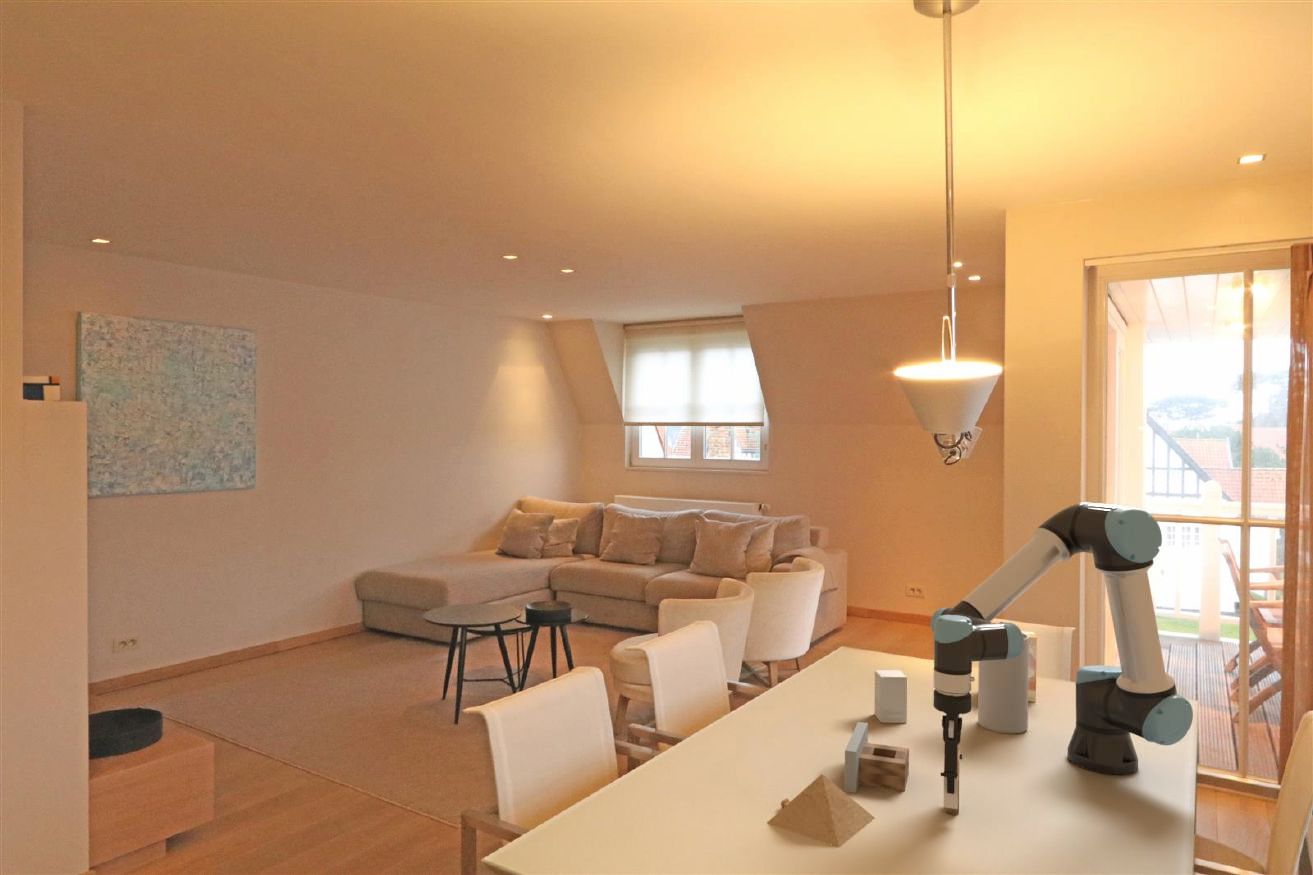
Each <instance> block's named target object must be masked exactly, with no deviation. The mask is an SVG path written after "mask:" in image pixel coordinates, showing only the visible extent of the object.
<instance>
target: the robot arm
mask: <svg viewBox="0 0 1313 875" xmlns="http://www.w3.org/2000/svg"><path fill="white" fill-rule="evenodd" d="M1162 541H1163V536H1162V530H1161V527H1160V525H1159V522H1157V520H1156V519H1155V518H1154V516H1153V515H1152V514H1150V513H1149V512H1147V511H1146V510H1144V509H1142V508H1139V507H1133V506H1130V505H1124V504H1123V505H1118V504H1111V503H1110V504H1108V503H1099V502H1098V503H1097V502H1091V501H1084V502H1078V503H1075V504H1072V505H1070V506H1067V507H1066V508H1063V509H1061V510H1060V511H1058V512H1056V513H1055V514H1054V515H1052V516H1051V517H1049V518H1048V519H1047V520H1045V521H1044V522H1043V523H1042V524H1040V525H1039V526H1038V527H1037V528H1035V530H1034V531H1033V537H1032V538H1031V539H1030V540H1029V541H1028V542H1026V543H1025V544H1024V545H1023V546H1022V547H1021V548H1020V549H1019V550H1018V551H1016V552H1015V553H1014V554H1013V555H1012V556H1010V557H1009V559H1008V560H1006V561H1005V562H1004V563H1003V564H1002V565H1000V566H999V567H998V568H997V569H996V570H995V571H994V572H992V573H991V574H990V575H989V576H988V577H987V578H986V579H985V580H983V581H982V582H981V583H980V584H979V585H978V586H976V587H975V588H974V589H973V590H972V591H970V592H969V593H968V594H967V595H966V596H965V597H963V599H962V600H960V602H958V603H957V604H956V605H955V606H953V607H941V608H939V609H937V610H936V611H934V612H933V614H932V616H931V618H930V628H931V629H930V630H931V631H932V634H933V637H932V638H933V678H932V679H933V685H932V686H933V688H934V690H933V707H934V708H935V709H936V711H939V712H942V713H944V715H942V719H941V727H942V740H943V742H944V746H945V753H943V754H944V755H943V756H944V757H943V758H944V759H943V760H944V761H943V762H944V763H943V772H940V777H943V808H944V807H946V808H953V809H958V774H957V755H958V745H959V746H960V743H961V735H962V729H963V717H962V716H961V717H960V715H966V714H969V713H970V712H971V711H972V693H971V692H972V682H973V683H974V682H975V680H976V679H975V677H974V676H972V673H973V672H972V671H973V662H979V661H986V660H1002V659H1003V660H1006V659H1010V658H1016V657H1018V656H1019V655H1020V654H1021V653H1022V651H1023V649H1024V638H1023V634H1022V632H1021V631H1022V630H1021V628H1020V627H1019V626H1018V625H1016V624H1015V623H1013V622H1003V621H1000V622H992V621H993V620H994V619H996V618H997V617H998V616H999V615H1000V614H1002V612H1003V611H1005V610H1006V609H1007V608H1008V607H1009V606H1010V605H1011V604H1012V603H1014V602H1015V601H1016V600H1017V599H1018V598H1019V597H1021V595H1023V594H1024V593H1025V592H1026V591H1027V590H1028V589H1030V588H1031V587H1032V586H1033V585H1034V584H1035V583H1036V582H1037V581H1039V580H1040V578H1041V577H1043V576H1044V575H1046V573H1048V572H1049V570H1051V569H1052V568H1053V567H1055V565H1057V564H1058V562H1067V561H1068V560H1069V559H1070V558H1072V557H1073V556H1075V555H1077V554H1080V553H1088V554H1092V557H1093V563H1094V567H1095V570H1097V571H1098V572H1100V573H1101V574H1103V575H1104V581H1105V587H1106V588H1105V589H1106V594H1107V597H1108V603H1109V610H1110V616H1111V619H1112V626H1113V632H1114V637H1115V641H1116V648H1117V652H1118V658H1119V664H1120V666H1118V665H1117V666H1115V665H1102V664H1101V665H1085V666H1081V667H1080V668H1078V670H1077V671H1076V681H1075V728H1074V730H1073V733H1072V735H1071V739H1070V741H1069V743H1068V746H1067V759H1068V760H1069V761H1070V762H1071V763H1072V764H1074V765H1076V766H1078V767H1080V768H1083V769H1085V770H1088V771H1092V772H1097V773H1101V774H1107V775H1128V774H1133V773H1136V772H1138V769H1139V758H1138V754H1137V751H1136V749H1135V746H1134V743H1133V739H1132V736H1131V734H1133V735H1135V736H1138V737H1140V738H1142V739H1144V740H1146V742H1150V743H1155V744H1158V745H1160V746H1172V745H1174V744H1177V743H1179V742H1181V740H1182V739H1184V738H1185V736H1186V735H1187V733H1188V731H1189V730H1190V729H1191V726H1192V724H1193V718H1194V710H1193V707H1192V704H1191V703H1190V701H1189V700H1188V699H1186V698H1185V697H1184V696H1183V695H1179V694H1178V692H1177V687H1176V681H1175V679H1174V678H1173V676H1172V675H1170V674H1169V673H1167V672H1166V670H1165V669H1166V668H1165V664H1164V657H1163V653H1162V646H1161V640H1160V635H1159V630H1158V625H1157V624H1158V623H1157V618H1156V613H1155V608H1154V603H1153V602H1154V601H1153V596H1152V592H1151V589H1152V588H1151V586H1150V584H1151V583H1150V580H1149V574H1148V571H1149V569H1151V568H1152V566H1154V558H1156V557H1157V556H1158V554H1159V552H1160V549H1159V547H1162V543H1163V542H1162ZM960 760H963V754H961V753H960Z"/></svg>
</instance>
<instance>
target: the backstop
mask: <svg viewBox="0 0 1313 875" xmlns="http://www.w3.org/2000/svg"><path fill="white" fill-rule="evenodd" d="M868 729H869V723H868V722H862V721H857V722H856V726H855V727H854V730H853V731H852V734H851V736H850V738H849V741H848V742H847V744H846V747H845V749H844V791H845V792H848V793H855V794H856V793H857V790H858V787H859V786H860V784H859V757H860V754H861V751H862V749H863V746H864V744H865V743H869V741H868V740H869V738H868V737H869V733H868V732H869V731H868Z"/></svg>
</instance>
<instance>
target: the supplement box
mask: <svg viewBox="0 0 1313 875" xmlns="http://www.w3.org/2000/svg"><path fill="white" fill-rule="evenodd" d="M907 708H908V677H907V676H906V675H905V674H904V673H903V672H902V670H900V669H889V670H887V669H883V670H882V669H879V670H878V669H877V670H876V669H875V670H874V710H873V711H874V715H875V717H876V718H877V719H878V721H879V722H880V723H883V724H885V723H887V724H889V723H890V724H891V723H893V724H906V723H907V722H908V719H907V718H908V716H907V714H908V711H907V710H908V709H907Z"/></svg>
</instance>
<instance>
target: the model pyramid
mask: <svg viewBox="0 0 1313 875" xmlns="http://www.w3.org/2000/svg"><path fill="white" fill-rule="evenodd" d="M780 806H781V807H780V808H781V809H780V810H779V811H778V812H777V813H776V814H775V815H774V816H772V817H771V819H769V820H768V821H767V822H766V823H767V824H769V825H772V826H775V827H777V828H778V827H779V828H781V829H783V830H786V829H787V831H789V830H790V832H793V833H795V834H798V833H799V834H798V835H801V836H803V837H807V838H809V839H812V838H813V840H815V839H816V841H818V840H819V841H818V842H822V843H824V842H825V844H827V843H828V844H827V845H830V844H832V845H833V846H832V845H831V846H832V847H835V846H836V847H835V848H838V847H839V848H841V847H842V846H843V845H844V844H846V843H847V842H848V841H849V840H850V839H852V838H853V837H855V835H857V834H859V833H860V831H862V830H863V829H864V828H865V827H867V826H868V825H869V824H870V823H871V822H873V821H874V820H875V819H876V818H875V816H873V814H871V813H870V812H868V811H867V810H866V809H865V808H863V806H861V805H860V804H859V803H857V802H856V801H855V800H854V799H853V798H852V797H851V796H849V795H848V794H847V793H846V792H844V790H842V789H841V788H840V787H838V786H837V785H836V784H835V783H834V782H832V781H831V780H830V779H829V778H828V777H826V776H825V775H824V774H823V773H821V774H820V775H819V776H818V777H816V778H815V779H814V780H813V781H812V782H811V783H810V784H808V785H807V786H806V787H805V788H804V789H803V790H801V792H799V794H797V795H796V796H795V797H794V798H792V800H790V799H789V798H784V799H783V800H781V801H780ZM873 819H874V820H873ZM872 820H873V821H872ZM867 824H868V825H867ZM845 842H846V843H845Z"/></svg>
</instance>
